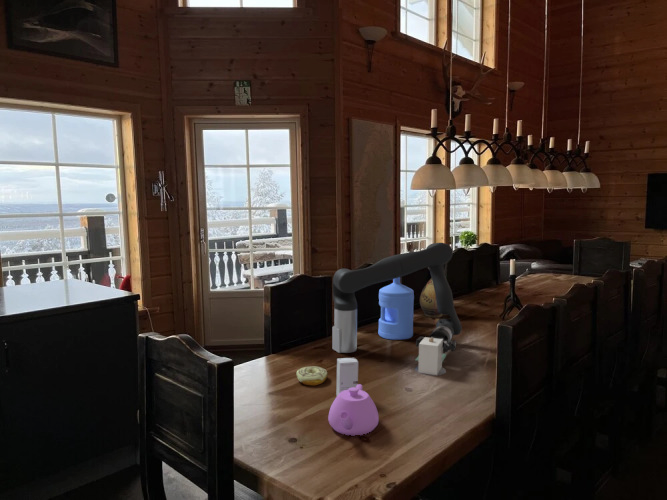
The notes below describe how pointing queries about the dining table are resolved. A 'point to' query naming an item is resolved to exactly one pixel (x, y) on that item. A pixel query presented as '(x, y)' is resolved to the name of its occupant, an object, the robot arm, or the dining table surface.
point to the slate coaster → (431, 374)
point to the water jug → (396, 311)
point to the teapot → (353, 412)
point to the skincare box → (346, 374)
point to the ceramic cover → (430, 355)
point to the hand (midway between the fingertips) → (432, 349)
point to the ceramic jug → (429, 300)
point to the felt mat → (442, 357)
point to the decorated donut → (311, 375)
